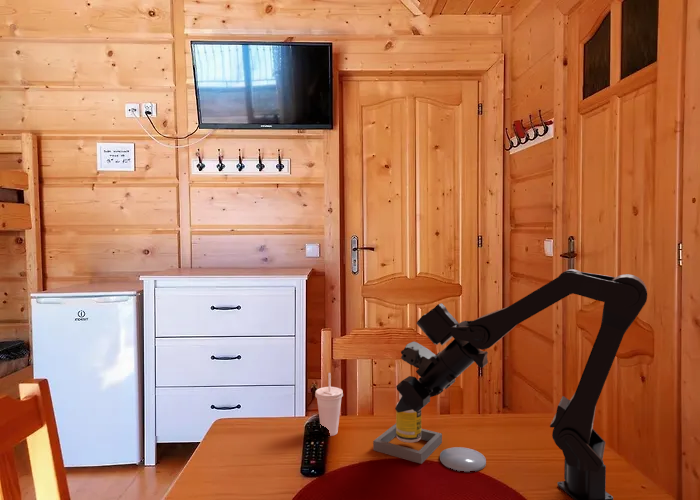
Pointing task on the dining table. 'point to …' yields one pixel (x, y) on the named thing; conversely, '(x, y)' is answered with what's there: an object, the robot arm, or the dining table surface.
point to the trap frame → (404, 452)
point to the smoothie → (329, 406)
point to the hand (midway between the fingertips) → (402, 406)
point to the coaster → (462, 459)
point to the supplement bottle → (408, 425)
